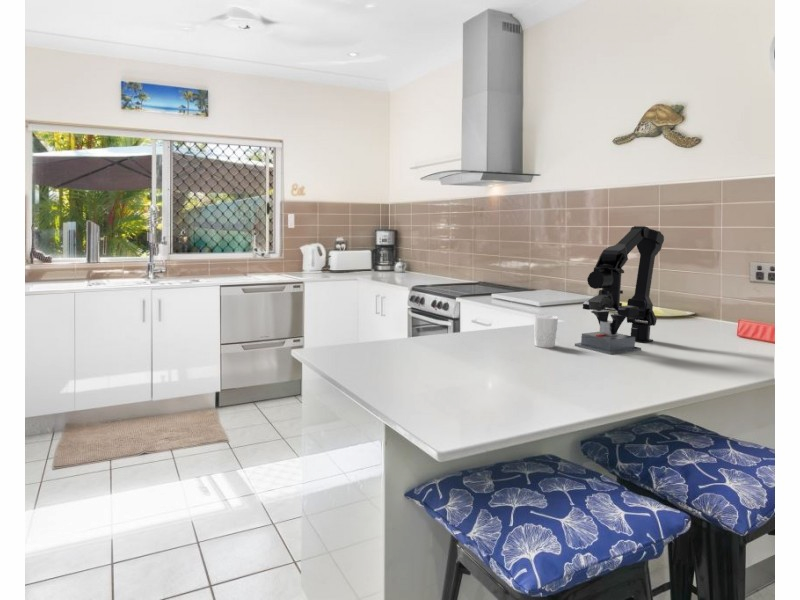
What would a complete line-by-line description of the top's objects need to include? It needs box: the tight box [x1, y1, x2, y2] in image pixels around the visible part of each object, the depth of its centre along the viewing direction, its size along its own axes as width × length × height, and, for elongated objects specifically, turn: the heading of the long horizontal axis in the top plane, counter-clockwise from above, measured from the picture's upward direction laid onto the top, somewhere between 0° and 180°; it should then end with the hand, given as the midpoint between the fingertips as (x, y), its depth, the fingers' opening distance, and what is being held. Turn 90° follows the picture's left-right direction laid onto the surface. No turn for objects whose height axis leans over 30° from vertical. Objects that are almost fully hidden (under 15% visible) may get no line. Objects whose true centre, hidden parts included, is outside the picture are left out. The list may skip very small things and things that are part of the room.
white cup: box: [533, 314, 559, 349], centre depth 192 cm, size 8×8×10 cm
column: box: [598, 320, 619, 337], centre depth 190 cm, size 4×4×8 cm
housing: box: [574, 331, 642, 356], centre depth 190 cm, size 15×15×5 cm
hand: (608, 333), depth 190 cm, fingers closed on column, 4 cm apart
